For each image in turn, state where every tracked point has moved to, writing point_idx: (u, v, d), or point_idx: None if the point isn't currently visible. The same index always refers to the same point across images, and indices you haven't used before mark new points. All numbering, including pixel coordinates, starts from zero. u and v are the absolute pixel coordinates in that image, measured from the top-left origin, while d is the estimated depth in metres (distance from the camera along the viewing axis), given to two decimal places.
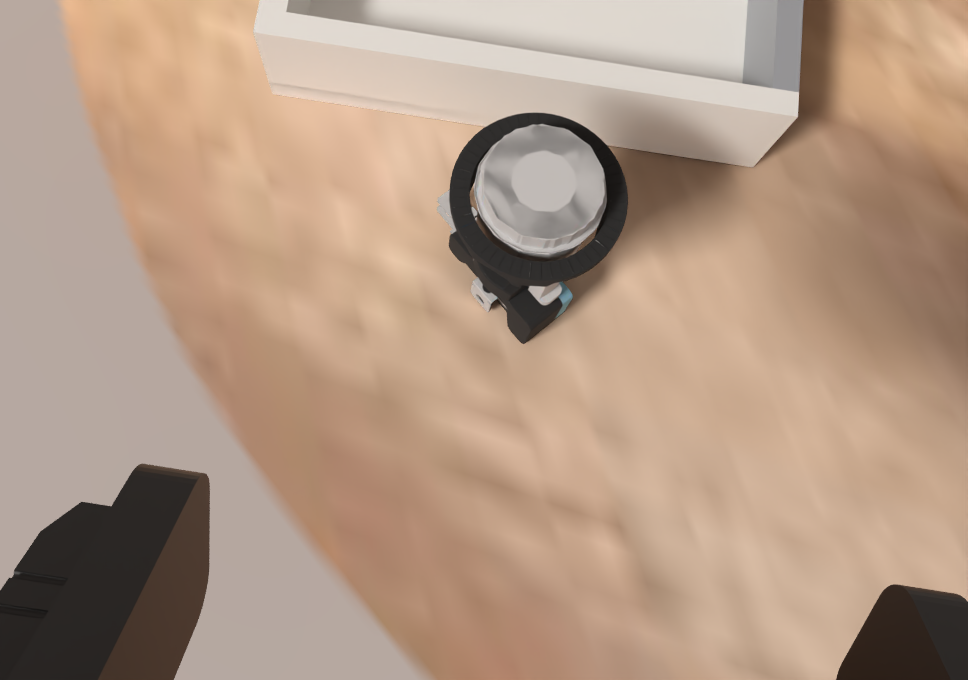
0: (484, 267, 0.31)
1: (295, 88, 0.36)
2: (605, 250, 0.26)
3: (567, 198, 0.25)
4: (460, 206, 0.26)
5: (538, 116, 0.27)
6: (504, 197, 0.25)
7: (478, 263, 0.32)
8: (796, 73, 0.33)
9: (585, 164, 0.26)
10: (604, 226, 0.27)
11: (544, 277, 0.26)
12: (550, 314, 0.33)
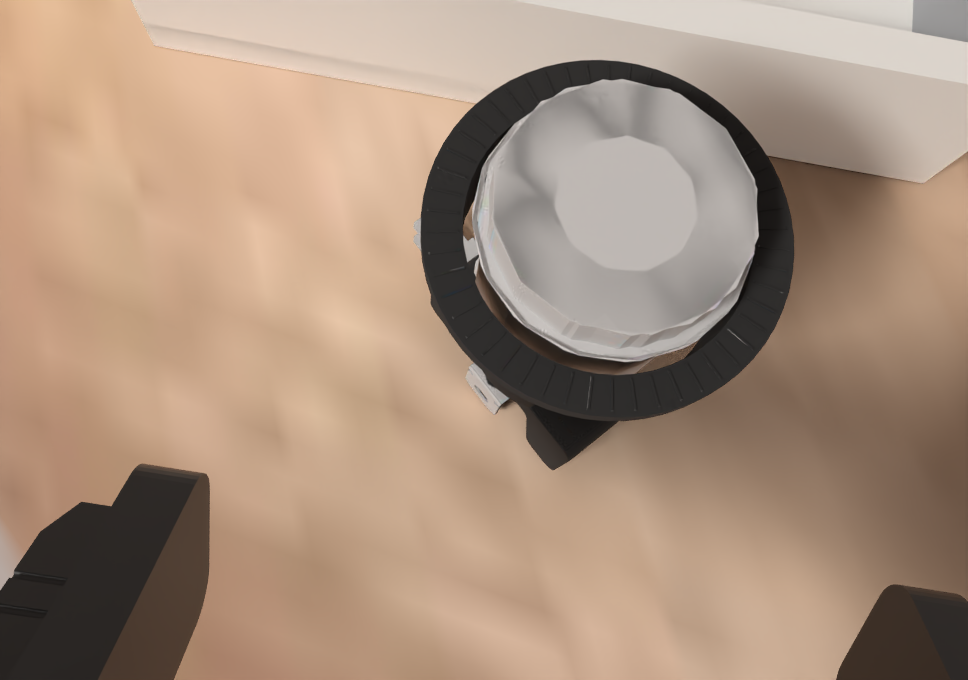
0: None
1: (187, 35, 0.22)
2: (749, 353, 0.12)
3: (677, 242, 0.12)
4: (442, 251, 0.12)
5: (609, 68, 0.13)
6: (538, 238, 0.11)
7: None
8: None
9: (716, 168, 0.12)
10: (746, 300, 0.13)
11: (619, 410, 0.12)
12: (603, 431, 0.19)
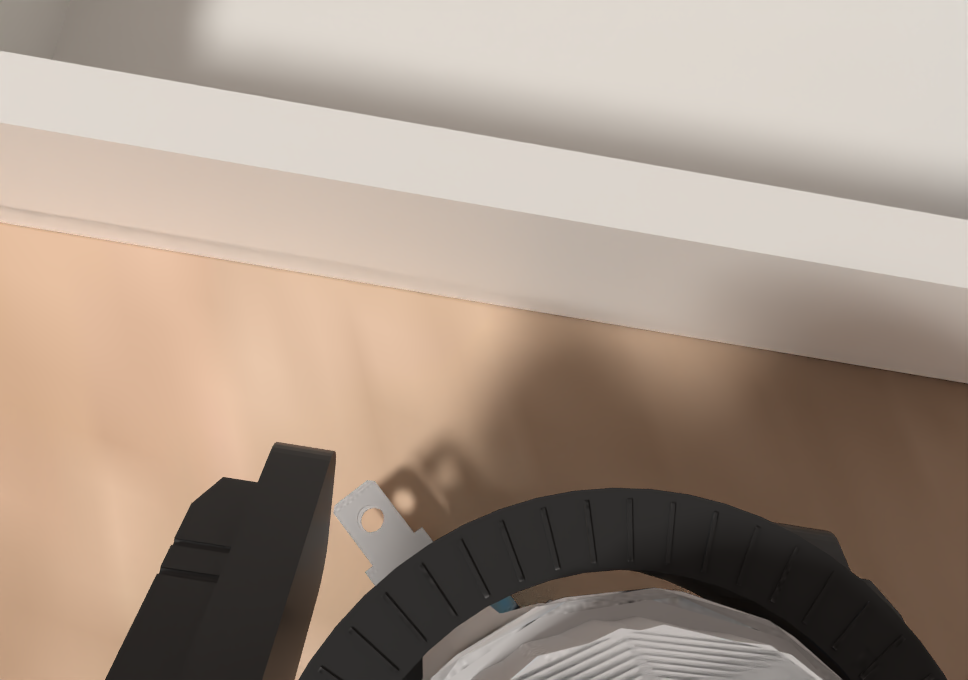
0: None
1: (15, 211, 0.15)
2: None
3: None
4: None
5: (631, 506, 0.07)
6: None
7: None
8: None
9: None
10: None
11: None
12: None
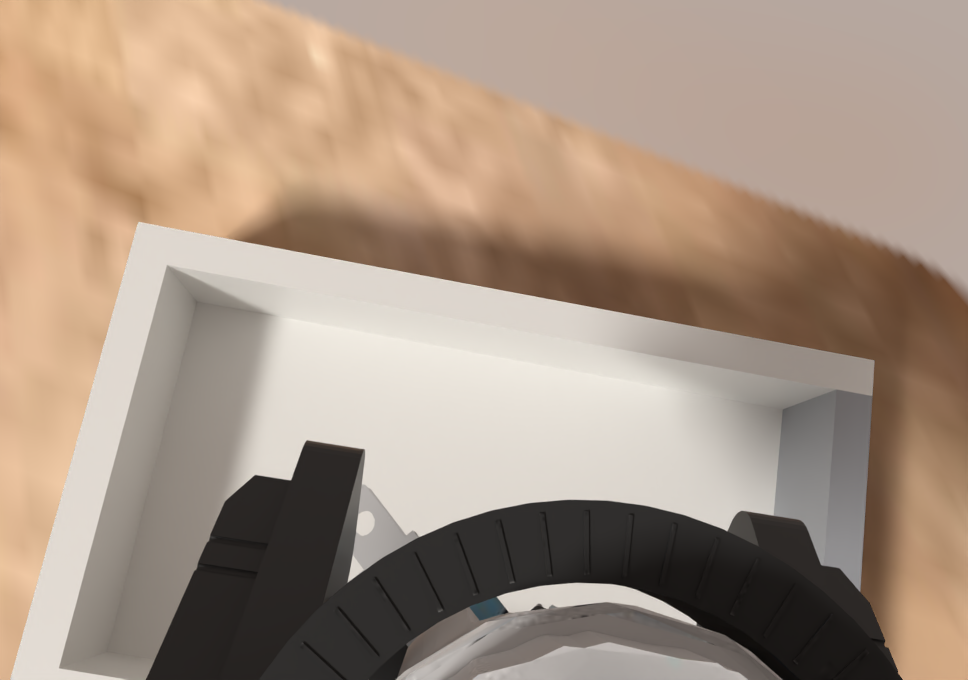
0: None
1: None
2: None
3: None
4: None
5: (588, 518, 0.06)
6: None
7: None
8: None
9: None
10: None
11: None
12: None
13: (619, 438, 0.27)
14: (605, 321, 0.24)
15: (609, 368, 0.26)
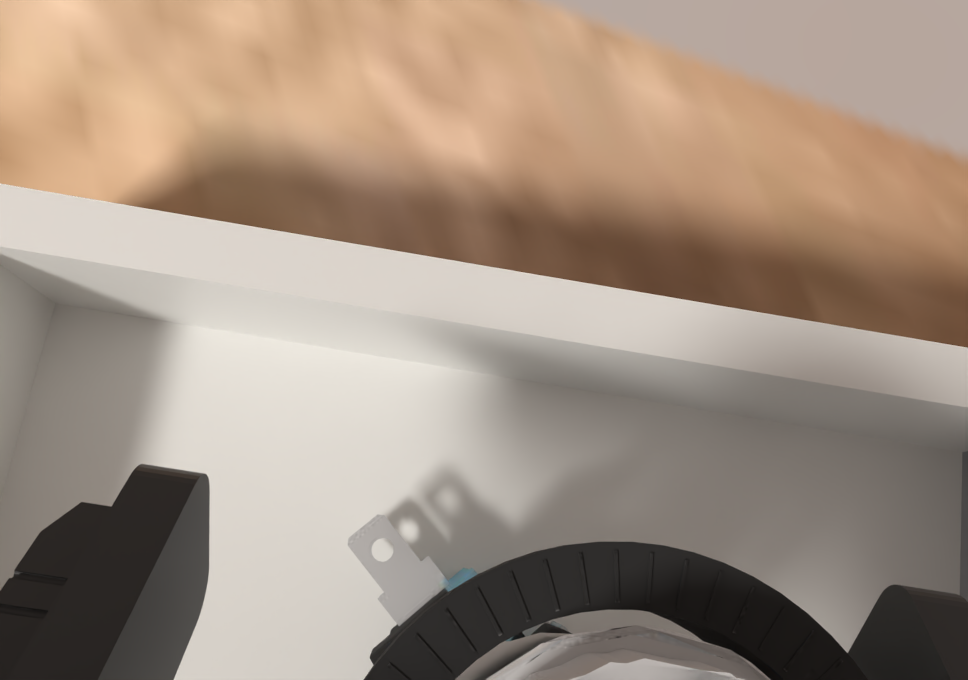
0: None
1: None
2: None
3: None
4: None
5: (617, 556, 0.08)
6: None
7: None
8: None
9: None
10: None
11: None
12: None
13: (715, 503, 0.17)
14: (706, 322, 0.14)
15: (701, 396, 0.16)
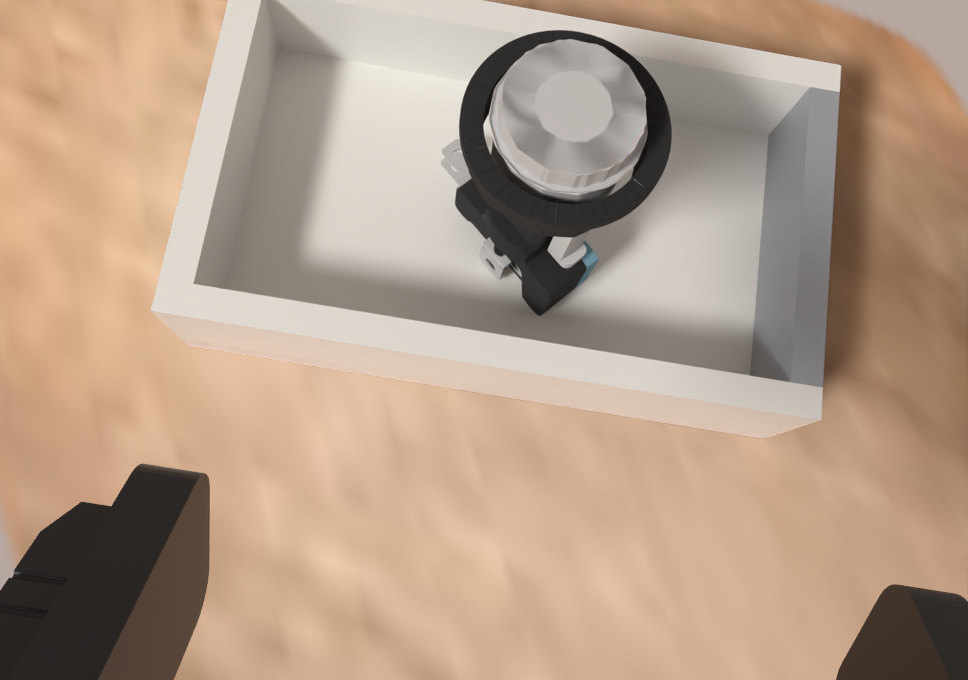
0: (497, 223, 0.27)
1: (213, 345, 0.29)
2: (646, 191, 0.22)
3: (602, 126, 0.21)
4: (472, 138, 0.22)
5: (564, 34, 0.23)
6: (526, 125, 0.21)
7: (490, 219, 0.27)
8: (820, 363, 0.27)
9: (623, 86, 0.21)
10: (644, 163, 0.22)
11: (573, 223, 0.22)
12: (572, 279, 0.28)
13: None
14: (620, 33, 0.29)
15: None
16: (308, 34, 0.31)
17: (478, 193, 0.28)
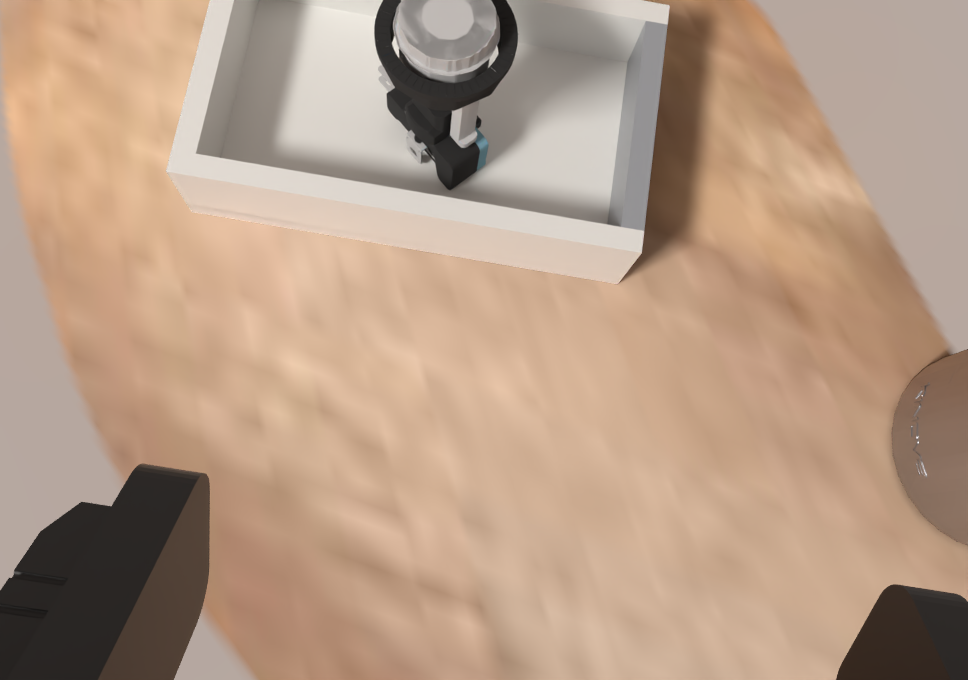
0: (412, 114, 0.38)
1: (210, 209, 0.40)
2: (498, 75, 0.33)
3: (466, 29, 0.32)
4: (382, 40, 0.33)
5: None
6: (415, 28, 0.32)
7: (407, 111, 0.38)
8: (642, 214, 0.38)
9: (481, 4, 0.32)
10: (498, 57, 0.33)
11: (449, 95, 0.33)
12: (469, 157, 0.39)
13: (523, 77, 0.43)
14: None
15: None
16: None
17: (401, 96, 0.39)
